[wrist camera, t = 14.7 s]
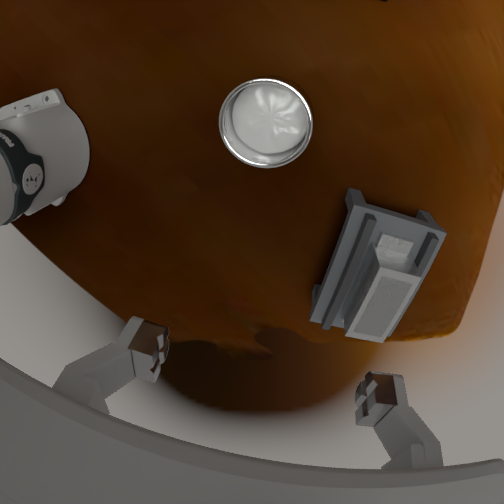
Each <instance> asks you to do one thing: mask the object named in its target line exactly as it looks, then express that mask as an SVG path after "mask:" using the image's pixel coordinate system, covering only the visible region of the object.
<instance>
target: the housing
mask: <svg viewBox="0 0 504 504" xmlns="http://www.w3.org/2000/svg"><path fill="white" fill-rule="evenodd" d="M412 246H413V241H412V240H411V239H408V238H405V237H401V236H398V235H395V234H391V233H388V232H384V231H381V232H380V235H379V237H378V239H377V242H376V243H375V242H372V243H371V246H370V248H369V250H368V253H367V255H366V257H365V260H364V262H363V264H362V266H361V269H360V271H359V273H358V275H357V278H356V280H355V282H354V284H353V286H352V289H351V291H350V293H349V295H348V297H347V299H346V301H345V303H344V306H343V316H342V322H344V330H345V336H348V337H353V338H358V339H363V340H369V341H374V342H380V343H383V342H384V340H385V338H386V337H387V335H388V334H389V332H390V331H391V329H392V327H393V326H394V324H395V323H396V321H397V319H398V318H399V316H400V315H401V313H402V311H403V310H404V308H405V306H406V304H407V303H408V301H409V299H410V298H411V296H412V294H413V292H414V291H415V289H416V287H417V285H418V283H419V282H420V280H421V278H422V277H421V275H420V273H419V271H418V269H417V266H416V264H415V262H414V260H413V258H412V256H411V254H410V250H411V248H412Z"/></svg>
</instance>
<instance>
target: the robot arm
mask: <svg viewBox="0 0 504 504" xmlns="http://www.w3.org/2000/svg"><path fill="white" fill-rule="evenodd" d="M48 98H49V100H48ZM88 164H89V142H88V138H87V134H86V131H85V128H84V126H83V124H82V122H81V121H80V119H79V117H78V116H77V115H76V114H75V113H74V112H73V111H72V110H71V109H70V108H69V107H68V106H67V104H66V103H65V101H64V98H63V96H62V94H61V92H60V91H59V90H58V89H56V88H55V89H51V90H48V91H45V92H42V93H39V94H36V95H33V96H30V97H27V98H24V99H22V100H19V101H16V102H14V103H11V104H9V105H6V106H4V107H2V108H1V109H0V226H1V225H6V224H8V223H10V222H12V221H14V220H16V219H17V218H19V217H20V216H21V215H22V214H26V215H31V214H33V213H35V212H37V211H38V210H40V209H42V208H44V207H45V206H47V205H49V204H53V205H55V206H58V205H60V204H62V203H63V201H64V200H65V198H66V196H67V194H68V193H69V192H70V191H71V190H73V189H74V188H76V187H77V186H78V185H79V184H80V183H81V181H82V180H83V178H84V176H85V174H86V172H87V168H88ZM168 334H169V328H168V327H166V326H163V325H160V324H157V323H154V322H151V321H148V320H145V319H141V318H138V317H135V316H133V317H132V318H130V320H129V322H128V323H127V325H126V326H125V328H124V330H123V331H122V333H121V335H120V336H119V338H118V340H117V341H116V343H115V344H113V343H111V344H109V345H107V346H105V347H103V348H101V349H98V350H97V351H94V352H92V353H90V354H88V355H86V356H84V357H82V358H80V359H78V360H76V361H74V362H72V363H70V364H68V365H66V367H65V368H64V370H63V371H62V373H61V374H60V376H59V378H58V379H57V381H56V382H55V384H54V385H53V387H52V388H51V387H49V386H47V385H45V384H43V383H41V382H39V381H38V380H36V379H34V378H32V377H31V376H28V375H27V374H25V373H24V372H22V371H20V370H19V369H17V368H15V367H14V366H12V365H10V364H9V363H7V362H6V361H4V360H3V359H1V358H0V504H504V460H502V459H492V460H486V461H481V462H474V463H468V464H460V465H452V466H443V459H442V452H441V446H440V442H439V441H438V439H437V438H436V437H435V436H434V434H433V433H432V432H431V431H430V429H429V428H428V427H427V426H426V424H425V423H424V422H423V421H422V419H421V418H420V417H419V416H418V414H417V413H416V412H415V411H414V409H413V408H412V407H409V406H408V400H407V394H406V390H405V384H404V379H403V376H402V375H397V374H390V373H382V372H374V371H370V372H368V373H367V374H366V375H365V380H364V381H362V382H360V384H359V385H358V387H357V389H356V392H355V404H356V405H357V406H358V409H357V410H356V412H355V415H356V425H360V426H370V427H374V430H375V432H376V433H377V435H378V437H379V439H380V440H381V442H382V444H383V446H384V447H385V449H386V451H387V453H388V454H389V456H390V458H391V460H390V461H389V462H388V463H386V464H385V465H383V466H382V467H381V469H377V470H376V469H345V468H331V467H330V468H329V467H319V466H309V465H300V464H292V463H285V462H278V461H272V460H265V459H260V458H254V457H249V456H243V455H239V454H234V453H229V452H225V451H221V450H217V449H213V448H208V447H205V446H201V445H197V444H193V443H190V442H186V441H183V440H179V439H175V438H173V437H169V436H166V435H163V434H160V433H157V432H154V431H151V430H148V429H145V428H142V427H140V426H137V425H134V424H131V423H129V422H126V421H124V420H121V419H118V418H116V417H113V416H111V415H109V413H110V412H109V410H108V407H107V405H106V402H105V398H107V397H108V396H110V395H111V394H113V393H114V392H116V391H117V390H119V389H120V388H122V387H123V386H124V385H126V384H127V383H129V382H130V381H132V380H133V379H135V377H137V378H140V379H143V380H147V381H150V382H153V383H155V381H156V379H157V377H158V375H159V372H160V364H161V363H163V362H164V361H165V359H166V356H167V353H168V348H169V340H168V339H167V337H168Z"/></svg>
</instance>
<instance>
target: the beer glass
mask: <svg viewBox="0 0 504 504" xmlns="http://www.w3.org/2000/svg"><path fill="white" fill-rule="evenodd" d="M313 126H314V111H313V106H312V103H311V101H310V99H309V97H308V95H307V94H306V93H305V91H304V90H303V89H302V88H301V87H300V86H299V85H297V84H296V83H295V82H293V81H291V80H289V79H287V78H284V77H280V76H273V75H267V76H260V77H256V78H253V79H251V80H248V81H247V82H244V83H242V84H241V85H239V86H237V87H236V88H235V89H234V90H233V91H232V92H231V93H230V94H229V95H228V96H227V97H226V99H225V101H224V102H223V105H222V107H221V110H220V114H219V130H220V134H221V137H222V140H223V142H224V144H225V145H226V147H227V148H228V150H229V151H230V152H231V153H232V154H233V155H234V156H235V157H236V158H238V159H239V160H241V161H242V162H244V163H246V164H249V165H251V166H255V167H259V168H275V167H279V166H283V165H285V164H288V163H290V162H291V161H293V160H294V159H296V158H297V157H298V156H299V155H300V154H301V153H302V152H303V151H304V150H305V148H306V147H307V145H308V143H309V141H310V138H311V135H312V130H313Z"/></svg>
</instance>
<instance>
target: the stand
mask: <svg viewBox="0 0 504 504" xmlns="http://www.w3.org/2000/svg"><path fill="white" fill-rule="evenodd" d="M345 202H346V205H347V209H348V214H347V217H346V219H345V222H344V225H343V228H342V231H341V234H340V236H339V239H338V242H337V245H336V247H335V250H334V253H333V256H332V258H331V261H330V264H329V266H328V269H327V271H326V274H325V277H324V279H323V282H322V284H321V285H319V284H315V285H314V288H313V290H312V309H311V312H310V321H312V322H317V323H322V329H326V330H329V329H330V327H331V326H336V327H341V328H344V322H342V316H343V306H344V303H345V301H346V299H347V297H348V295H349V293H350V291H351V289H352V286H353V284H354V282H355V280H356V278H357V275H358V273H359V271H360V269H361V266H362V264H363V262H364V260H365V257H366V255H367V253H368V250H369V248H370V246H371V243H372V242H375V243H376V242H377V239H378V237H379V235H380V232H381V231H384V232H388V233H391V234H395V235H398V236H401V237H405V238H408V239H411V240H412V241H413V246H412V248H411V250H410V254H411V256H412V258H413V260H414V262H415V264H416V266H417V269H418V271H419V273H420V275H421V277H422V278H421V280H420V282H419V283H418V285H417V287H416V289H415V291H414V292H413V294H412V296H411V298H410V299H409V301H408V303H407V304H406V306H405V308H404V310H403V311H402V313H401V315H400V316H399V318H398V319H397V321H396V323H395V324H394V326H393V327H392V329H391V331H390V332H389V334H388V335H387V336H389V337H390V335H391V334H392V332H393V330H394V329H395V327H396V326H397V324H398V322H399V321H400V319H401V318H402V316H403V314H404V313H405V311H406V309H407V308H408V306H409V304H410V303H411V301H412V299H413V297H414V296H415V294H416V292H417V290H418V289H419V287H420V285H421V283H422V281H423V279H424V278H425V276H426V274H427V272H428V270H429V268H430V266H431V264H432V262H433V260H434V259H435V257H436V255H437V253H438V251H439V249H440V247H441V244H442V242H443V240H444V238H445V236H446V234H447V233H446V232H445V230H444V229H443V227H440V226H438V224H437V223H436V221H435V220H434V219H433V217H432V216H431V215H430V213H429V212H426V211H423V210H420V209H419V210H418V212H417V215H416V217H415V218H413V217H410V216H407V215H403V214H400V213H397V212H394V211H391V210H387V209H384V208H381V207H377V206H374V205H370V204H367V203H366V202H365V200H364V197H363V195H362V193H361V191H359V190H356V189H352V188H349V187H348V191H347V194H346V197H345Z"/></svg>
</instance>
